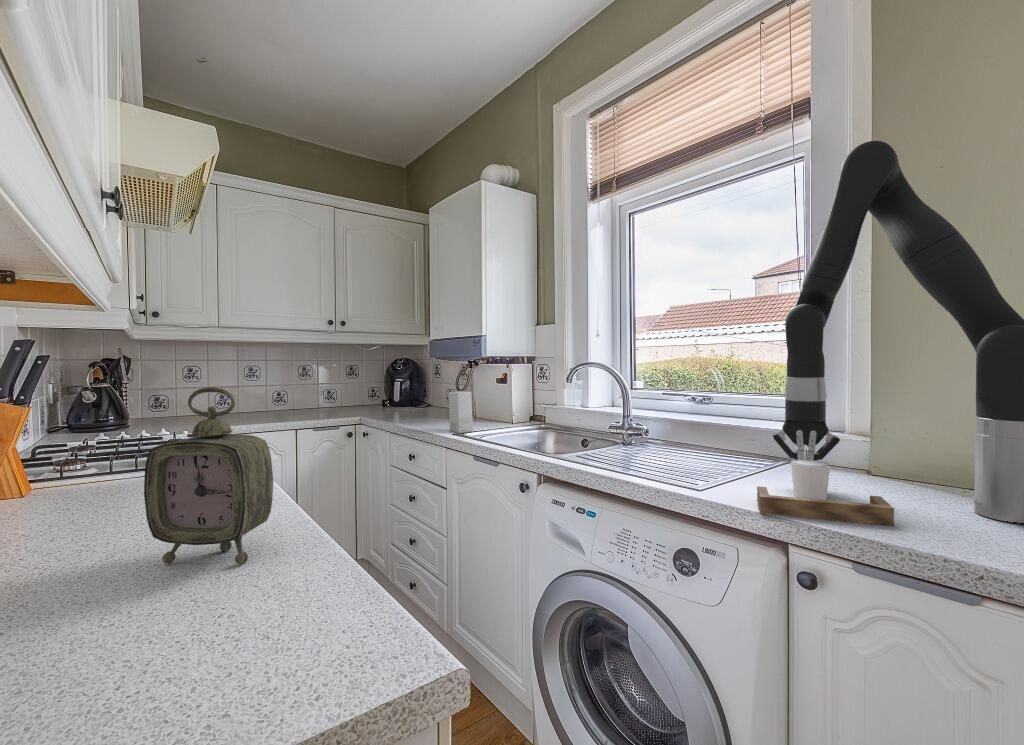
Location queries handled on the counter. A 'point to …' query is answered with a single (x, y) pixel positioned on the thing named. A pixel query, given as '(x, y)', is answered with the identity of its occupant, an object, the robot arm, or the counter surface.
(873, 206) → the robot arm
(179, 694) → the counter surface
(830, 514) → the stop rail
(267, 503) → the tabletop clock
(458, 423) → the skincare box
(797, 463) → the white cup
